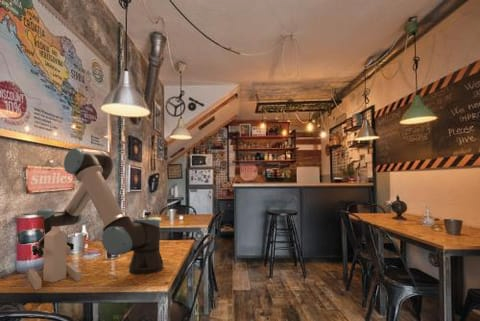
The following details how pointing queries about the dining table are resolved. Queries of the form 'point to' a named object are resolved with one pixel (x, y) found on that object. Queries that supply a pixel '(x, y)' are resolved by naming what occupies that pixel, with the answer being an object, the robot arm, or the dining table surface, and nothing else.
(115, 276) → the dining table surface
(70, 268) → the brown piece
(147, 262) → the robot arm
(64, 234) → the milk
